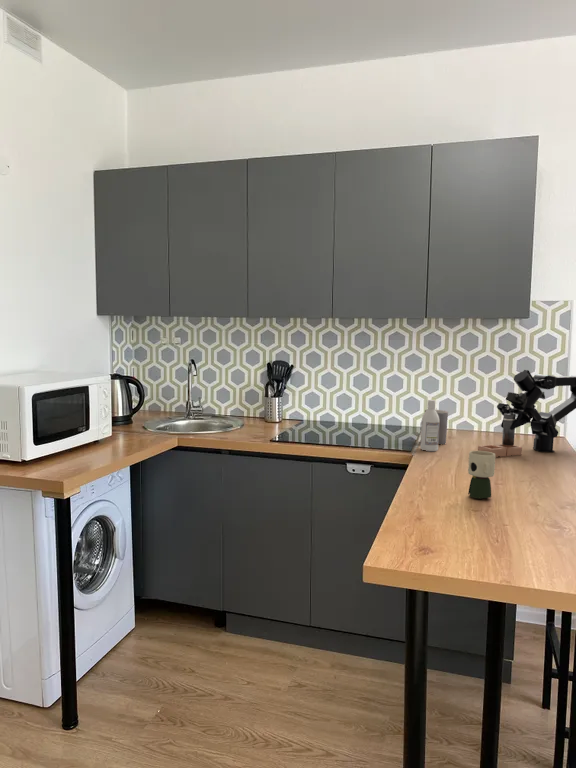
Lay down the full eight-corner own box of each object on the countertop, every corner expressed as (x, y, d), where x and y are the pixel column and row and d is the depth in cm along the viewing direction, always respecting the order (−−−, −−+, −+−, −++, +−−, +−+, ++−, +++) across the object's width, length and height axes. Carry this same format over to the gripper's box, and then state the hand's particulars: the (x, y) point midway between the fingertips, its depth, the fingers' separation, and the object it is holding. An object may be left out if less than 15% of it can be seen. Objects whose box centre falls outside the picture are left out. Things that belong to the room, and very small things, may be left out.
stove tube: (508, 442, 238) (509, 413, 236) (516, 444, 234) (518, 414, 232) (499, 443, 236) (501, 413, 235) (507, 445, 232) (509, 415, 231)
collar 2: (507, 451, 240) (507, 443, 240) (521, 454, 233) (521, 447, 233) (493, 452, 237) (493, 444, 236) (507, 455, 230) (507, 448, 230)
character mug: (461, 492, 175) (463, 448, 174) (485, 493, 175) (487, 449, 174) (473, 503, 164) (476, 456, 163) (498, 503, 164) (501, 457, 163)
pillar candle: (418, 442, 253) (420, 407, 252) (430, 439, 260) (432, 405, 259) (438, 446, 246) (440, 410, 245) (450, 443, 253) (452, 408, 252)
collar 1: (492, 452, 236) (492, 444, 236) (506, 456, 230) (506, 448, 229) (477, 453, 233) (478, 445, 233) (491, 457, 227) (491, 449, 226)
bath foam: (441, 451, 236) (444, 400, 234) (428, 452, 233) (431, 401, 231) (429, 447, 242) (432, 398, 240) (416, 449, 239) (418, 399, 237)
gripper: (501, 383, 243) (478, 410, 239) (537, 387, 226) (514, 417, 222) (514, 401, 247) (493, 429, 243) (551, 407, 230) (528, 437, 226)
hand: (506, 428), depth 233 cm, fingers closed on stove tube, 4 cm apart
